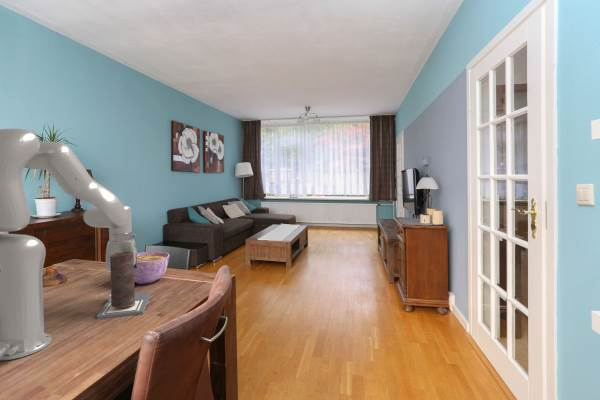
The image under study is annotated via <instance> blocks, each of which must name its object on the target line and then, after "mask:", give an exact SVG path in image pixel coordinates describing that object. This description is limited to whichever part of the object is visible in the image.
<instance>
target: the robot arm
mask: <svg viewBox="0 0 600 400" xmlns="http://www.w3.org/2000/svg"><path fill="white" fill-rule="evenodd" d="M24 169H28V170H29V169H30V170H47V171H48V173H49V174H50V175H51V177H52V178H53V179H54V180H55V181H56V182H57V184H58V185H59V186H60V187H61V189H62V190H63V191H64V193H66V194H67V195H69V196H71V197H73V198H75V199H77V200H81V201H84V202H86V203H89V204H91V205H93V206H92V207H90V208H88V209H87V210H85V212H84V213H83V221H84V223H85V224H86V225H87V226H89V227H93V228H100V229H101V228H107V229H108V233H109V234H108V235H109V240H108V241H107V244H106V250H105V271H109V272H111V270H110V256H111V255H113V254H115V253H116V252H122V251H124V252H126V251H133V265H134V268H137V266H138V265H137V253H138V251H137V245H136V241H135V239H134V238H136V237H137V233H134V232H133V227H132V226H133V224H132V208H131V206H130V205H127V204H123V203H122V202H121V199H119V197H117V195H116V194H114V193H113V192H112V191H111V190H109V189H108V188H106V187H105V186H103V185H102V184H100V183H99V182H97V181H96V180H94V178H92V176H91V175H90V173H88V171H87V169H86V168H85V167H84V165H83V164H82V163H81V161H80V160H79V158H78V157H77V155H76V154H75V152H74V151H73V150H72V148H71V147H70V146H69V145H67V144H66V143H63V142H60V141H40V138H39V137H38V135H37V134H35V133H34V132H33V131H31V130H28V129H23V128H0V361H8V360H16V359H20V358H24V357H27V356H30V355H33V354H35V353H37V352H39V351H41V350H43V349H45V348H47V346H49V345H50V344H51V343H52V340H53V338H52V335H51V334H50V333H47V332H45V317H44V316H45V315H44V314H45V313H44V311H45V310H44V289H43V288H44V287H42V275H43V269H44V264H45V259H46V253H47V252H46V247H45V245H44V243H43V241H41V240H40V239H39V238H37V237H35V236H32V235H28V234H17V233H10V232H17V231H20V230H22V229H25V228H26V227H27V226H28V225H29V223H30V220H31V213H30V207H29V205H28V201H27V197H26V192H25V189H24V184H23V172H24Z"/></svg>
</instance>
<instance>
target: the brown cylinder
mask: <svg viewBox="0 0 600 400" xmlns="http://www.w3.org/2000/svg"><path fill="white" fill-rule="evenodd" d="M110 270H111V271H110V294H111V304H112V307H115V308H123V307H130V306H134V305H135V293H136V291H135V282H134V265H133V251H126V252H124V251H122V252H116V253H115V254H113V255H111V256H110Z"/></svg>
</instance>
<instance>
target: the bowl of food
mask: <svg viewBox="0 0 600 400" xmlns="http://www.w3.org/2000/svg"><path fill="white" fill-rule="evenodd" d="M169 260H170V254H169V252H164V251H145V252H137V265H138V266H137V268H134V283H136V284H138V285H148V284H153V283H155V282H156V281H157V280H160V279H161V278H162V277H163V276H164V275H165V274H166V271H167V268H168V265H169Z"/></svg>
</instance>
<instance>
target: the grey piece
mask: <svg viewBox="0 0 600 400" xmlns="http://www.w3.org/2000/svg"><path fill="white" fill-rule="evenodd" d="M151 294H152V291H151V290H150V291H140V292H135V305H134V306H130V307H123V308H115V307H112V304H111V293H110V294H109V295H108V300H107V302H106V303H105V304H104V305H103V306H102V308H101V310H100V311H99V312H98V313H97V315H96V320H102V319H112V318H119V317H127V316H137V315H143V314H144V312H145V310H146V307H147V304H148V302H149V300H150V297H151ZM111 317H112V318H111Z"/></svg>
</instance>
